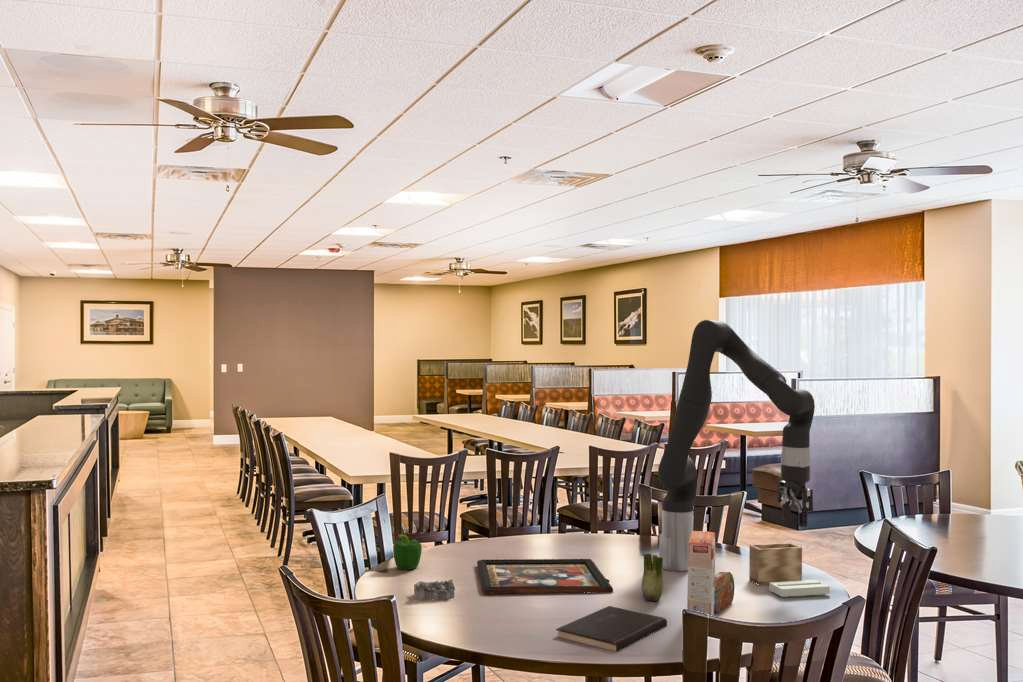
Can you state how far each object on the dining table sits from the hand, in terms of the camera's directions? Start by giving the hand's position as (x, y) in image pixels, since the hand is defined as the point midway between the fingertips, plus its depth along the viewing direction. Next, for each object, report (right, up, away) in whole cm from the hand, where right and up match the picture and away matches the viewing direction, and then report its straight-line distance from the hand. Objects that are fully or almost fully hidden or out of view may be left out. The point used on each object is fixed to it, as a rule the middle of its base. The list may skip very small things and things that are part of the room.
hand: (794, 523), depth 238 cm
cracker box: (-31, -18, -29) cm, 46 cm away
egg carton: (-97, -18, -7) cm, 99 cm away
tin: (-24, -19, -15) cm, 34 cm away
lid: (0, -18, -3) cm, 18 cm away
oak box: (-2, -19, +10) cm, 21 cm away
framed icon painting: (-68, -19, +11) cm, 72 cm away
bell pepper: (-107, -18, +22) cm, 111 cm away
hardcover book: (-53, -19, -34) cm, 66 cm away
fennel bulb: (-40, -18, -9) cm, 45 cm away
